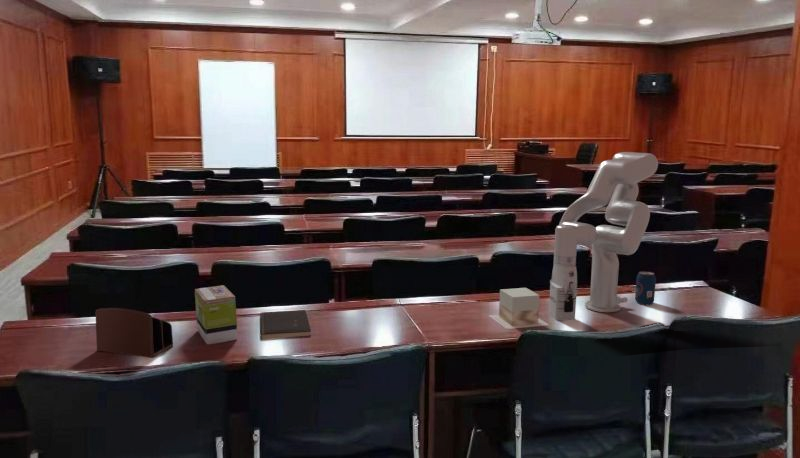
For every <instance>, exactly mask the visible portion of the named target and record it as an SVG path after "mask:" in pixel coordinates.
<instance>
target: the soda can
mask: <svg viewBox="0 0 800 458" xmlns="http://www.w3.org/2000/svg"><path fill="white" fill-rule="evenodd" d="M635 280H636V281H635V283H636V284H635V293H634V299H635V302H636V303H637V304H639V303H640V304H639V305H643V304H651V305H653V303H654V302H655V292H656V283H657V282H656V281H657V277H656V275H655V273H654V272H653V271H648V270H645V271H644V270H642V271H639V272H638V274H637V275H636V279H635Z"/></svg>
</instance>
